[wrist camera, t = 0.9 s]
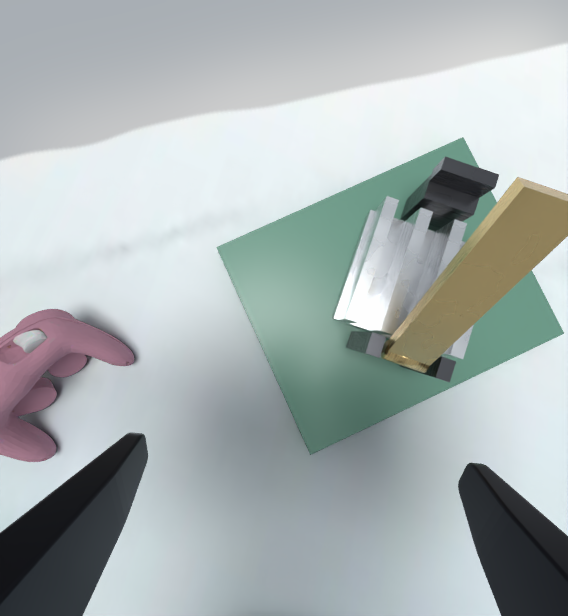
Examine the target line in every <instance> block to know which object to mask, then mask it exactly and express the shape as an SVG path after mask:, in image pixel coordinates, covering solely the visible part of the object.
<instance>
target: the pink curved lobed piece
mask: <svg viewBox="0 0 568 616" xmlns="http://www.w3.org/2000/svg"><path fill="white" fill-rule="evenodd" d="M85 355H88V356H91V357H94V358H97V359H99V360H102V361H104V362H107V363H109V364H112V365H118V366H128V365H131V364H133V362H134V355H133V353H132V351H131V350H130V349H129V348H128V347H127V346H126V345H125V344H123V343H122V342H121V341H119V340H118V339H116V338H115V337H113V336H112V335H110V334H108V333H106V332H104V331H102V330H100V329H98V328H95V327H93V326H91V325H88V324H86V323H84V322H81V321H79V320H77V319H75V318H74V317H73V316H72V315H71V314H69V313H67V312H65V311H62V310H58V309H47V310H42V311H39V312H36V313H33V314H31V315H29V316H27V317H26V318H24V319H23V320H22V321H20V322H19V324H18V325H17V326H16V328H15V329H13V330H12V331H10V332H8V333H7V334H5V335H4V336H2V337H1V338H0V455H4V456H7V457H11V458H14V459H17V460H22V461H27V462H40V461H45V460H47V459H49V458H51V457H52V456H54V454H55V453H56V444H55V443H54V441H53V440H52V438H51V437H50V436H48V435H47V434H46V433H45V432H43V431H42V430H40V429H39V428H37V427H35V426H33V425H32V424H30V423H28V422H26V421H24V420H22V419H19V418H18V417H19V416H22V415H25V414H29V413H33V412H37V411H40V410H43V409H45V408H46V407H48V406H49V405H51V404H52V403H53V401H54V400H55V398H56V396H57V392H56V390H55V388H54V386H53V384H52V382H51V381H50V380H49V379H47V378H44V377H41V376H42V375H43V374H44V373H45V372H46V371H47V370H48V371H49V373H50V374H51V375H53V376H56V377H68V376H71V375H73V374H75V373H77V372H78V371H80V370H81V369H82V368H83V367H84V366H85V364H86V362H87V358H86V356H85Z"/></svg>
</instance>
